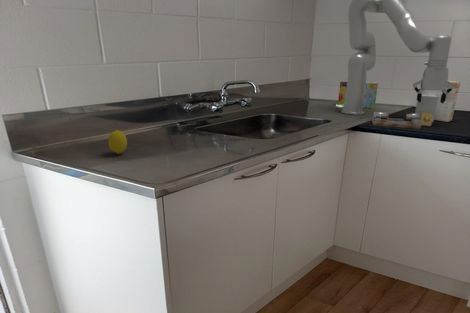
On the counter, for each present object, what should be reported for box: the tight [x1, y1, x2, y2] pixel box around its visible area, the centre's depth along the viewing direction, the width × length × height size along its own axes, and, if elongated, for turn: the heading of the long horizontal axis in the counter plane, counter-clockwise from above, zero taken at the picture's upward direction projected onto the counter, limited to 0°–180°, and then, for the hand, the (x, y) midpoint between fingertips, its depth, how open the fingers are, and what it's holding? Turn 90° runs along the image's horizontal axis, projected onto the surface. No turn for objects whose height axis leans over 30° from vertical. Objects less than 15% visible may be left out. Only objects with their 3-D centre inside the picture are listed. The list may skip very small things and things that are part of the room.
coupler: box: [419, 111, 434, 127], centre depth 162 cm, size 6×5×6 cm
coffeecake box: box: [421, 80, 461, 123], centre depth 172 cm, size 15×7×20 cm, turn 46°
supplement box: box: [414, 94, 438, 123], centre depth 170 cm, size 7×7×13 cm
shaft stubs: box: [372, 111, 421, 125], centre depth 160 cm, size 20×8×6 cm, turn 74°
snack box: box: [337, 80, 379, 109], centre depth 205 cm, size 21×6×15 cm, turn 66°
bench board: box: [370, 118, 422, 130], centre depth 160 cm, size 20×10×1 cm, turn 74°
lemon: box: [107, 129, 128, 155], centre depth 107 cm, size 6×6×8 cm
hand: (430, 102), depth 159 cm, fingers open, 9 cm apart
